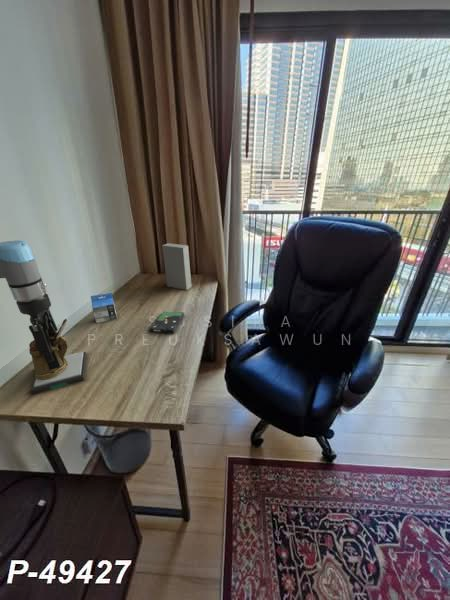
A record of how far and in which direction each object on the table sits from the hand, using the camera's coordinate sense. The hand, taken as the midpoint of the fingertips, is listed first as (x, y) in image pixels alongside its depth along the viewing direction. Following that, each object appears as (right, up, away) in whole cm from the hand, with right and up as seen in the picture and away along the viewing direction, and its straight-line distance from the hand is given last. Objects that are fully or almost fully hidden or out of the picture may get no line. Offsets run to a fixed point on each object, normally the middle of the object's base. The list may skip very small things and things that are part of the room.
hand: (57, 360), depth 81 cm
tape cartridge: (0, +10, +34) cm, 35 cm away
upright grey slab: (+28, +27, +67) cm, 77 cm away
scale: (0, -5, +3) cm, 6 cm away
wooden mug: (0, -3, +1) cm, 3 cm away
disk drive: (+30, +8, +30) cm, 43 cm away
